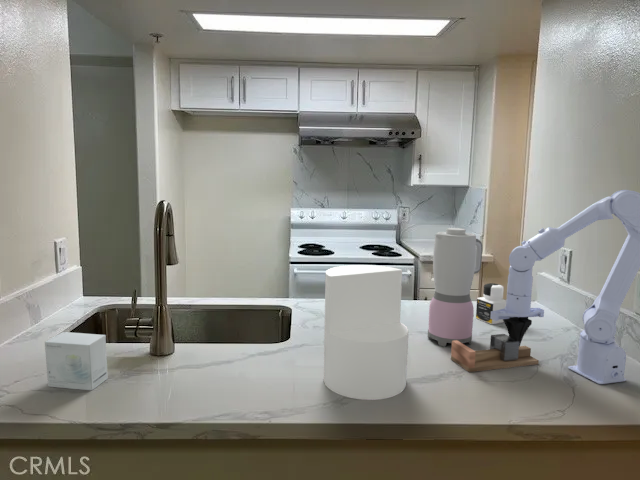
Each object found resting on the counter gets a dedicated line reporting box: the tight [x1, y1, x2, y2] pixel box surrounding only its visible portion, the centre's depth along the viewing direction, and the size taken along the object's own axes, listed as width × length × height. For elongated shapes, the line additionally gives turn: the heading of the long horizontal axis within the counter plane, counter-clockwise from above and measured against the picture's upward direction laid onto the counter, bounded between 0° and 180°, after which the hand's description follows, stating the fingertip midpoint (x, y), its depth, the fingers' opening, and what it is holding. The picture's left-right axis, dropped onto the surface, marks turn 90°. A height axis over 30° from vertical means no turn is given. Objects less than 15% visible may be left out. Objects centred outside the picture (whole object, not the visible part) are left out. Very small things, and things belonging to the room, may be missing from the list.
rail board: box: [450, 340, 540, 373], centre depth 118 cm, size 8×20×5 cm, turn 106°
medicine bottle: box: [475, 282, 506, 325], centre depth 152 cm, size 7×7×12 cm
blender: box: [427, 227, 483, 347], centre depth 132 cm, size 16×12×32 cm
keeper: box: [489, 333, 519, 361], centre depth 119 cm, size 6×4×5 cm
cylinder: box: [323, 264, 409, 401], centre depth 105 cm, size 19×19×25 cm
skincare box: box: [44, 331, 109, 391], centre depth 102 cm, size 10×6×10 cm, turn 82°
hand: (515, 345), depth 119 cm, fingers closed
